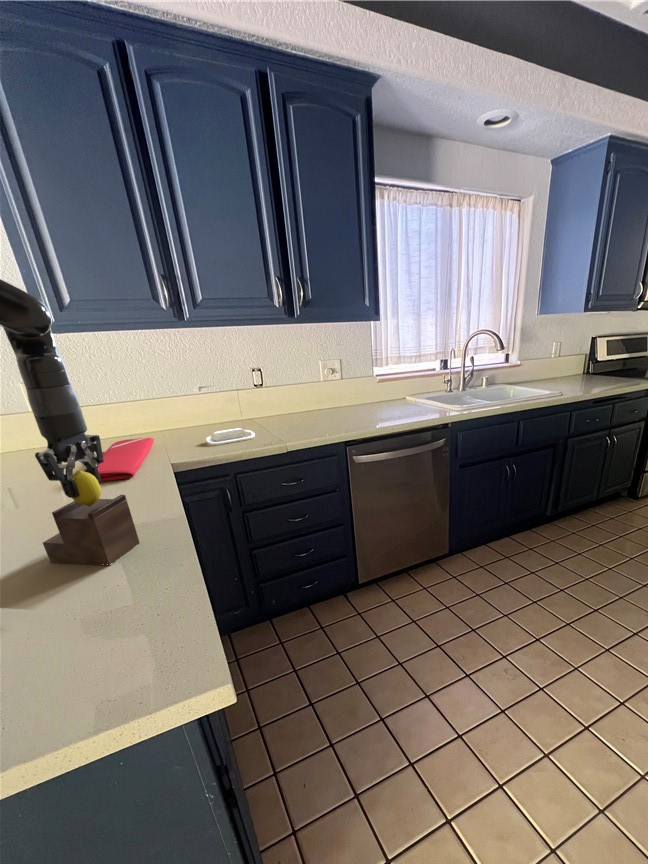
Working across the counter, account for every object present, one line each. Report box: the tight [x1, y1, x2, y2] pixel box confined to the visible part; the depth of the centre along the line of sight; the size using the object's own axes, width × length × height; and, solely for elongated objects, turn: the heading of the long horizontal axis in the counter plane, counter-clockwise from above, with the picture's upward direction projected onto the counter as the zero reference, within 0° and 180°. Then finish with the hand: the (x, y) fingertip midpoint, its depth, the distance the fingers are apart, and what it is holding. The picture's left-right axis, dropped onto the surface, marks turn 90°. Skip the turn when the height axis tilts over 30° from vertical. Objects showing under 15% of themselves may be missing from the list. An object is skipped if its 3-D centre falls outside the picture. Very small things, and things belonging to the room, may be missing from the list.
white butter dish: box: [205, 427, 256, 446], centre depth 179 cm, size 20×8×4 cm, turn 125°
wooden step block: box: [42, 494, 140, 566], centre depth 93 cm, size 14×10×12 cm
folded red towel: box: [97, 437, 155, 483], centre depth 154 cm, size 16×41×4 cm, turn 17°
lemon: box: [71, 469, 102, 507], centre depth 89 cm, size 6×6×8 cm
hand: (85, 491), depth 89 cm, fingers closed on lemon, 5 cm apart
